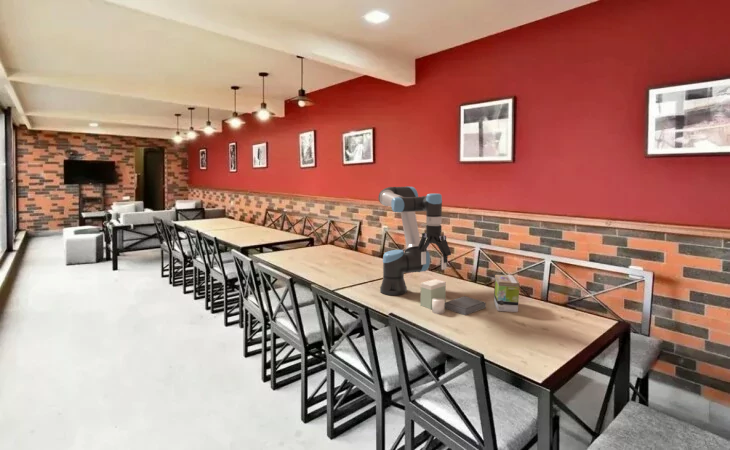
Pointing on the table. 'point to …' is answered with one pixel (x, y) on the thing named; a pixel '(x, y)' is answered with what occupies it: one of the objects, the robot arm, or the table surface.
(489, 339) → the table surface
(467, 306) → the podium
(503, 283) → the tea box
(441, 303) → the cream rounded domed part
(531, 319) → the table surface
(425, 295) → the carton
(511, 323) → the table surface
